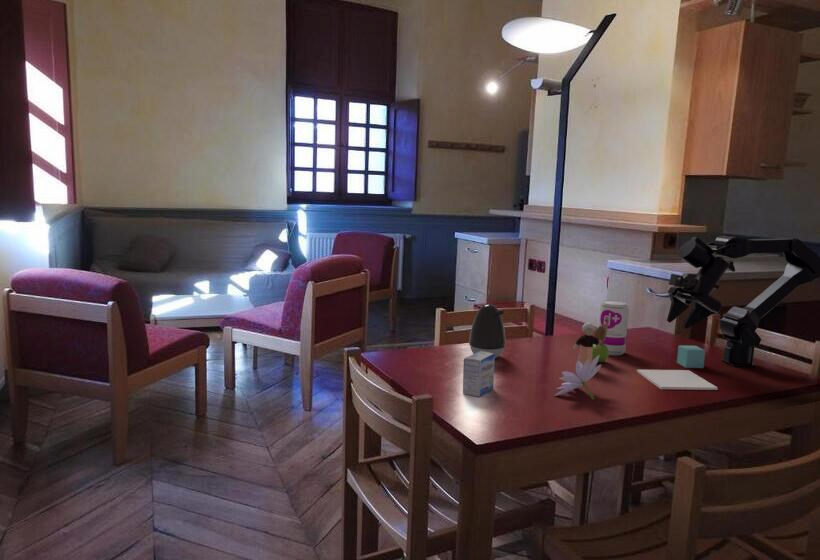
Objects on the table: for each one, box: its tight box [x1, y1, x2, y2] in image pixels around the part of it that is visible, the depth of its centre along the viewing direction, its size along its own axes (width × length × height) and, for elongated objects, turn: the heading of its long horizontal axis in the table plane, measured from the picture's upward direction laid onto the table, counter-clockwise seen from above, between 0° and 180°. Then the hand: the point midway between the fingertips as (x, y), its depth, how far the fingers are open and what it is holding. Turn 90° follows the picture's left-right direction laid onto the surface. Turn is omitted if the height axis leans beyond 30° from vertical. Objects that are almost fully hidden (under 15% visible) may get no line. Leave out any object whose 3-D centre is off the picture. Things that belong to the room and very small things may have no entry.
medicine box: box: [462, 351, 496, 398], centre depth 139 cm, size 8×4×9 cm, turn 148°
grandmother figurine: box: [572, 321, 601, 365], centre depth 159 cm, size 8×4×13 cm, turn 112°
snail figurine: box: [592, 318, 610, 363], centre depth 166 cm, size 5×6×12 cm
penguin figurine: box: [468, 303, 507, 359], centre depth 168 cm, size 10×10×15 cm
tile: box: [636, 369, 719, 391], centre depth 152 cm, size 14×14×1 cm
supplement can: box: [597, 299, 630, 357], centre depth 176 cm, size 8×8×15 cm
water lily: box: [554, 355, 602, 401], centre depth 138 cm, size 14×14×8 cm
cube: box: [676, 345, 706, 369], centre depth 166 cm, size 5×5×5 cm
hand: (676, 324), depth 165 cm, fingers open, 9 cm apart
